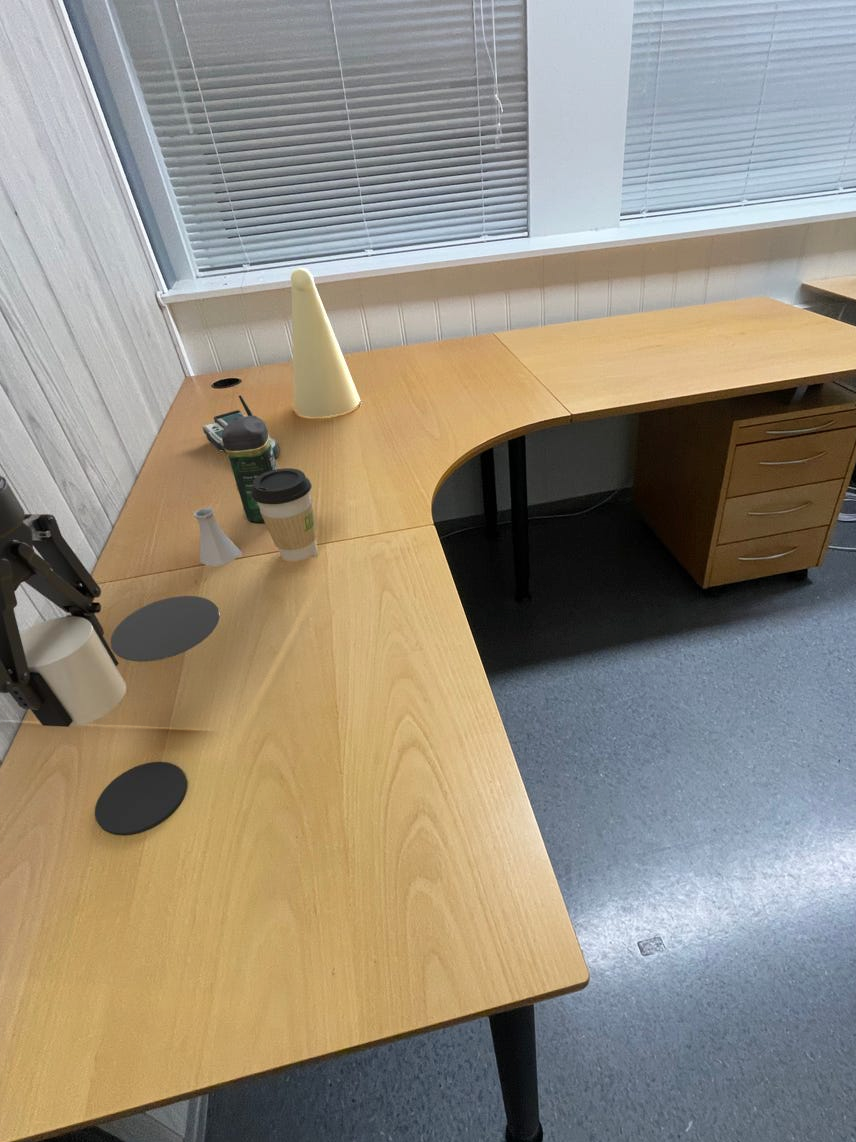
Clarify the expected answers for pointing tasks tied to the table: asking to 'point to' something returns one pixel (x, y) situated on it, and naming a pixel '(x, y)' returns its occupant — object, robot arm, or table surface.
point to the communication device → (222, 421)
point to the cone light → (317, 355)
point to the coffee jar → (248, 458)
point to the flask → (214, 540)
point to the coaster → (140, 798)
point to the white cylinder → (74, 667)
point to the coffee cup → (287, 511)
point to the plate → (165, 628)
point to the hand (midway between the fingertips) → (82, 692)
